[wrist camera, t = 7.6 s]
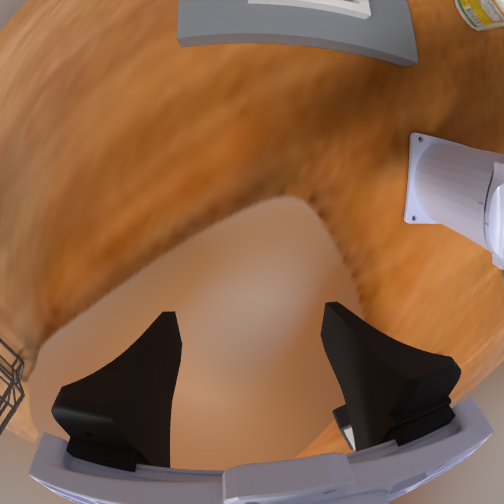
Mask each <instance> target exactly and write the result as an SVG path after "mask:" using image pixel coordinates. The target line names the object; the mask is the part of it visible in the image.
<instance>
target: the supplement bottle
mask: <svg viewBox="0 0 504 504" xmlns="http://www.w3.org/2000/svg"><path fill="white" fill-rule="evenodd" d="M454 3H455V6H456V8H457V10H458V12H459V14H460V15H461V17H462V18H463V19H464V20H465V22H466V23H467V24H468V25H469V26H470V27H472V28H473V29H475V30H477V31H486V30H491V29H497V28H504V0H454Z"/></svg>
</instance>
